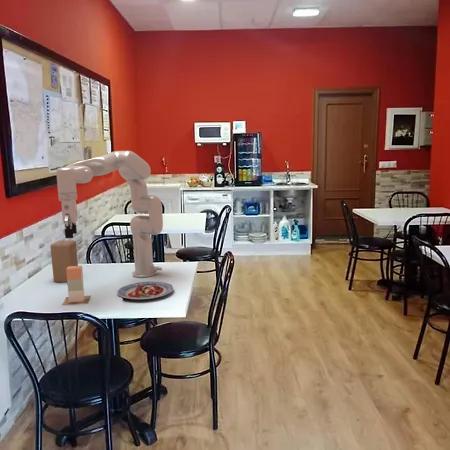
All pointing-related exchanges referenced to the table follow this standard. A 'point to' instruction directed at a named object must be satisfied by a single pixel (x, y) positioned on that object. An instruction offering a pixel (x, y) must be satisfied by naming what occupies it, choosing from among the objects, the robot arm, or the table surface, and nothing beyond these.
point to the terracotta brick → (74, 272)
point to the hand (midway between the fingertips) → (71, 235)
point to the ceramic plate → (145, 290)
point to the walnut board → (66, 302)
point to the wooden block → (63, 259)
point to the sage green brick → (75, 285)
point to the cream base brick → (76, 296)
